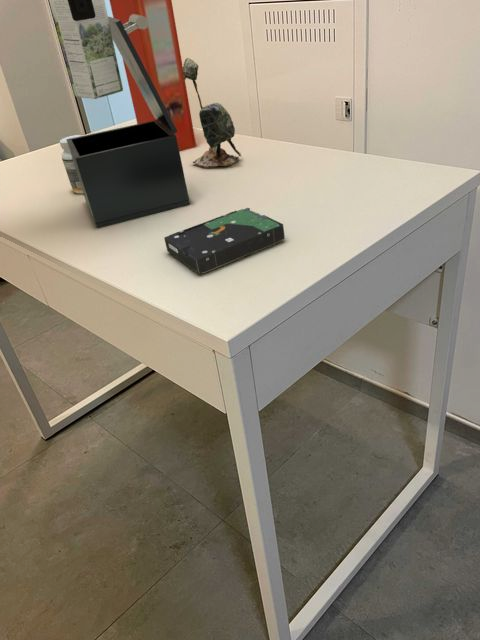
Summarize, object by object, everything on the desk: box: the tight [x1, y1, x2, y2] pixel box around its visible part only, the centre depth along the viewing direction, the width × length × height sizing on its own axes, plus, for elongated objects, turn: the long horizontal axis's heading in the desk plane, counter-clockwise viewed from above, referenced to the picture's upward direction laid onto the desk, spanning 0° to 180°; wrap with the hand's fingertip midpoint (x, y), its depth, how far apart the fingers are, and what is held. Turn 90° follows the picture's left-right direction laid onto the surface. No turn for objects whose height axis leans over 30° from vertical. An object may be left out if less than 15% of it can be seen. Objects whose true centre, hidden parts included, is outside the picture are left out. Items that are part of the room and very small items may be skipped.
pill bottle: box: [59, 134, 84, 194], centre depth 107 cm, size 6×6×10 cm
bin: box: [66, 120, 191, 229], centre depth 97 cm, size 17×14×12 cm
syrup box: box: [48, 0, 124, 100], centre depth 83 cm, size 6×6×14 cm
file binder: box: [108, 0, 197, 152], centre depth 121 cm, size 8×17×32 cm, turn 29°
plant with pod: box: [182, 57, 242, 168], centre depth 108 cm, size 8×11×20 cm
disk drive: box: [163, 207, 285, 275], centre depth 81 cm, size 10×3×15 cm
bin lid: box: [108, 14, 178, 134], centre depth 90 cm, size 17×14×5 cm
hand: (81, 17), depth 81 cm, fingers closed on syrup box, 7 cm apart
